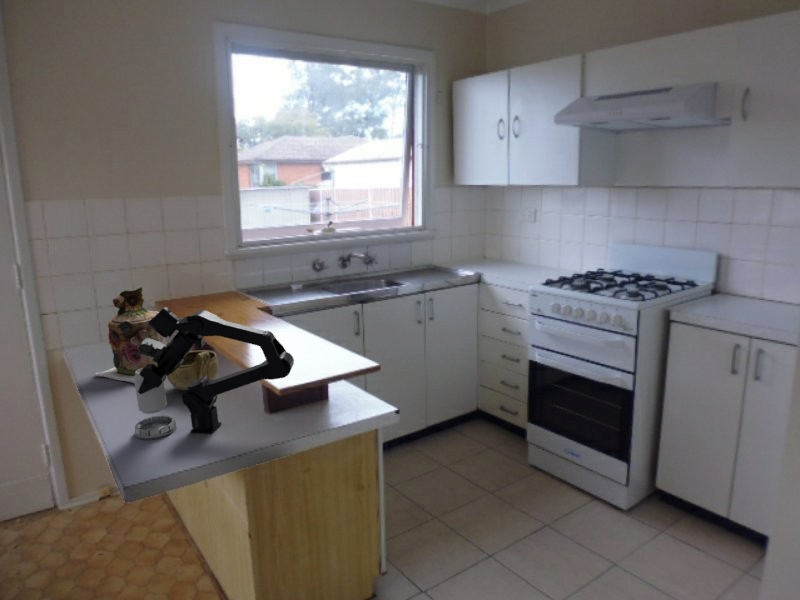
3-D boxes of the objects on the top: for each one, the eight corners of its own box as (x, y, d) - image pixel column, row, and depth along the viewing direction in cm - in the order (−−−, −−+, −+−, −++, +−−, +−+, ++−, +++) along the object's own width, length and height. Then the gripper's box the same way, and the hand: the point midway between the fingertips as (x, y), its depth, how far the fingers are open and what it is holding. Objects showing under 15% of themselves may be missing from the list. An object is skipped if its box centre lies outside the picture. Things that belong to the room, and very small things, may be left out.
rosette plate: (183, 423, 176) (182, 415, 176) (163, 440, 166) (161, 432, 165) (149, 422, 178) (148, 414, 178) (127, 439, 168) (125, 430, 167)
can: (152, 403, 175) (145, 364, 172) (173, 405, 173) (166, 365, 170) (133, 413, 168) (126, 373, 166) (154, 416, 166) (148, 375, 163)
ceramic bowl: (155, 387, 206) (150, 345, 203) (201, 374, 218) (196, 334, 215) (186, 403, 191) (181, 358, 188) (234, 388, 203) (229, 345, 199)
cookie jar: (145, 357, 241) (134, 279, 234) (191, 363, 230) (181, 282, 223) (91, 377, 219) (77, 292, 212) (139, 386, 209) (126, 296, 201)
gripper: (166, 320, 174) (134, 359, 177) (141, 339, 156) (106, 382, 159) (197, 344, 176) (165, 382, 179) (176, 366, 158) (140, 407, 160)
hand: (145, 387), depth 169 cm, fingers closed on can, 7 cm apart
